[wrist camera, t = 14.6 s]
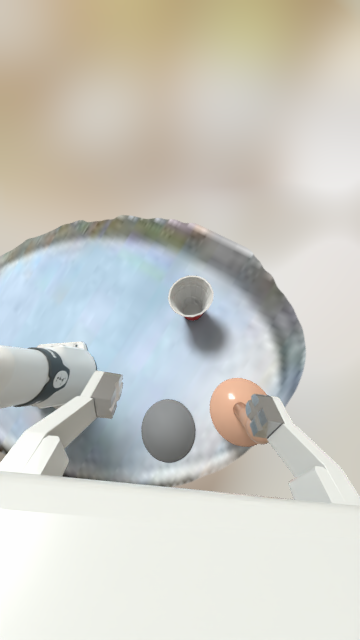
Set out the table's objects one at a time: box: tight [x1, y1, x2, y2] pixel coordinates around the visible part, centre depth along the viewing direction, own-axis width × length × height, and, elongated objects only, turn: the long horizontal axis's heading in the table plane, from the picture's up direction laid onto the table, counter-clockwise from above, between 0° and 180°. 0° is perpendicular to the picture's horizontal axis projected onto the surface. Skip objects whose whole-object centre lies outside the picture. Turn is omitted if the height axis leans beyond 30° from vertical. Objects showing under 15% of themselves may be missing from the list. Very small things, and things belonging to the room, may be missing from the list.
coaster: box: [142, 399, 195, 462], centre depth 41 cm, size 14×14×1 cm
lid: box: [210, 378, 268, 447], centre depth 27 cm, size 12×12×12 cm
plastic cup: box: [168, 276, 213, 321], centre depth 44 cm, size 11×11×12 cm
